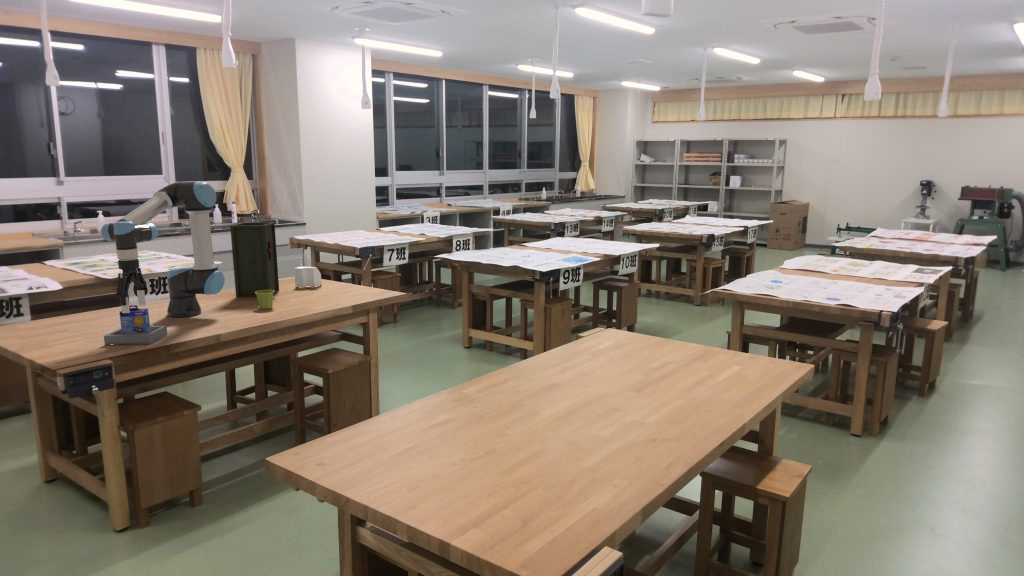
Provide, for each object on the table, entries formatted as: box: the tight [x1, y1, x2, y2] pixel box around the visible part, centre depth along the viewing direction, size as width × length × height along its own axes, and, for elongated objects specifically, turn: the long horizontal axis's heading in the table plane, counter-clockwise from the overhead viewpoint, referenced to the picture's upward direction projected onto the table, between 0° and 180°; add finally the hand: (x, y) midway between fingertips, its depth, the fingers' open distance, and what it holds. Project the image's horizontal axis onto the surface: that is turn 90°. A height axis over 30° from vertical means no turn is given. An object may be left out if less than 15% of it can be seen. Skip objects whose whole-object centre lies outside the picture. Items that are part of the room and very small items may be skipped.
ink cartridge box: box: [119, 304, 151, 335], centre depth 281 cm, size 10×6×14 cm, turn 104°
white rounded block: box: [293, 266, 322, 288], centre depth 403 cm, size 11×11×12 cm
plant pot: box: [255, 290, 275, 310], centre depth 344 cm, size 9×9×9 cm
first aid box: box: [229, 222, 280, 298], centre depth 377 cm, size 18×18×40 cm
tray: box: [103, 325, 168, 346], centre depth 283 cm, size 16×18×4 cm
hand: (134, 309), depth 281 cm, fingers open, 13 cm apart
